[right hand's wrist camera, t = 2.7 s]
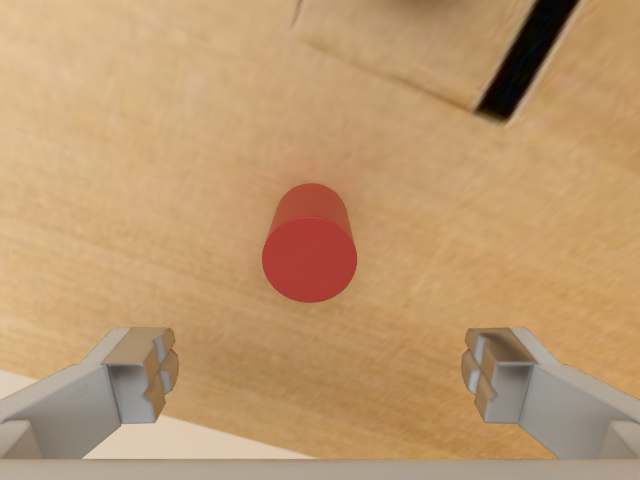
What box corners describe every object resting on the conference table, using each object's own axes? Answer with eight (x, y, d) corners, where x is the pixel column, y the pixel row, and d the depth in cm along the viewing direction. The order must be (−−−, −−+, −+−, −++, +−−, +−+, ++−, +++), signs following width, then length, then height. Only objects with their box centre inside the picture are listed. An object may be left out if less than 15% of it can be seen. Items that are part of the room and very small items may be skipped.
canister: (283, 176, 26) (270, 207, 19) (354, 191, 26) (367, 227, 19) (270, 243, 28) (255, 293, 21) (337, 256, 28) (344, 310, 21)
